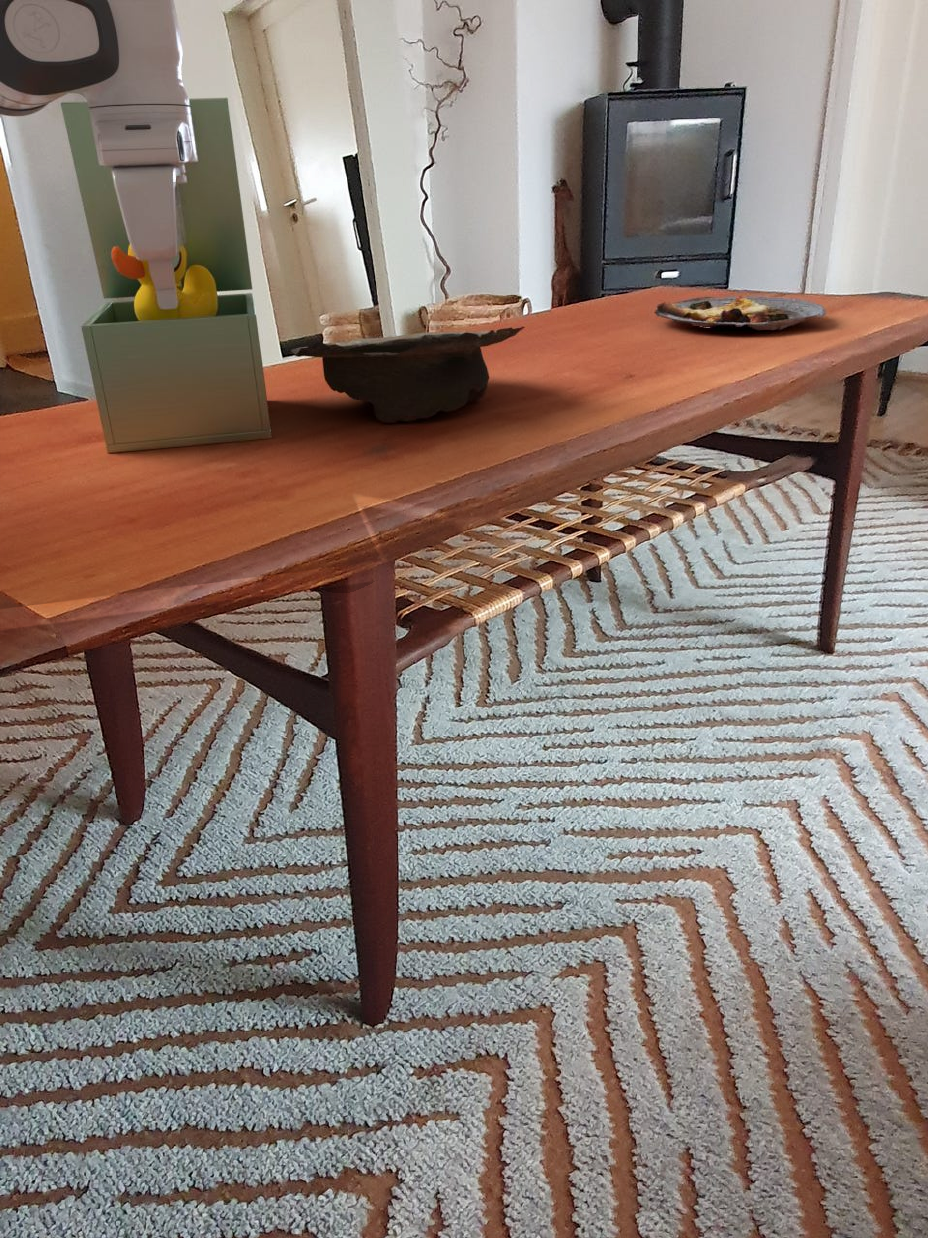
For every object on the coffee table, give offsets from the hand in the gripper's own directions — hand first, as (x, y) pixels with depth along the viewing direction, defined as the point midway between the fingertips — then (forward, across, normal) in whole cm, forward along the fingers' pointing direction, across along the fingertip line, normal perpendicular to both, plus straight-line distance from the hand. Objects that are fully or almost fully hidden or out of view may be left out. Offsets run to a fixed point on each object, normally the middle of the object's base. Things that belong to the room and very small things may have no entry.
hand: (172, 302), depth 91 cm
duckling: (+4, 0, 0) cm, 4 cm away
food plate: (+13, -37, +80) cm, 89 cm away
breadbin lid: (-9, -9, 0) cm, 12 cm away
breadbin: (+13, -2, 0) cm, 13 cm away
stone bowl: (+13, -3, +23) cm, 27 cm away
